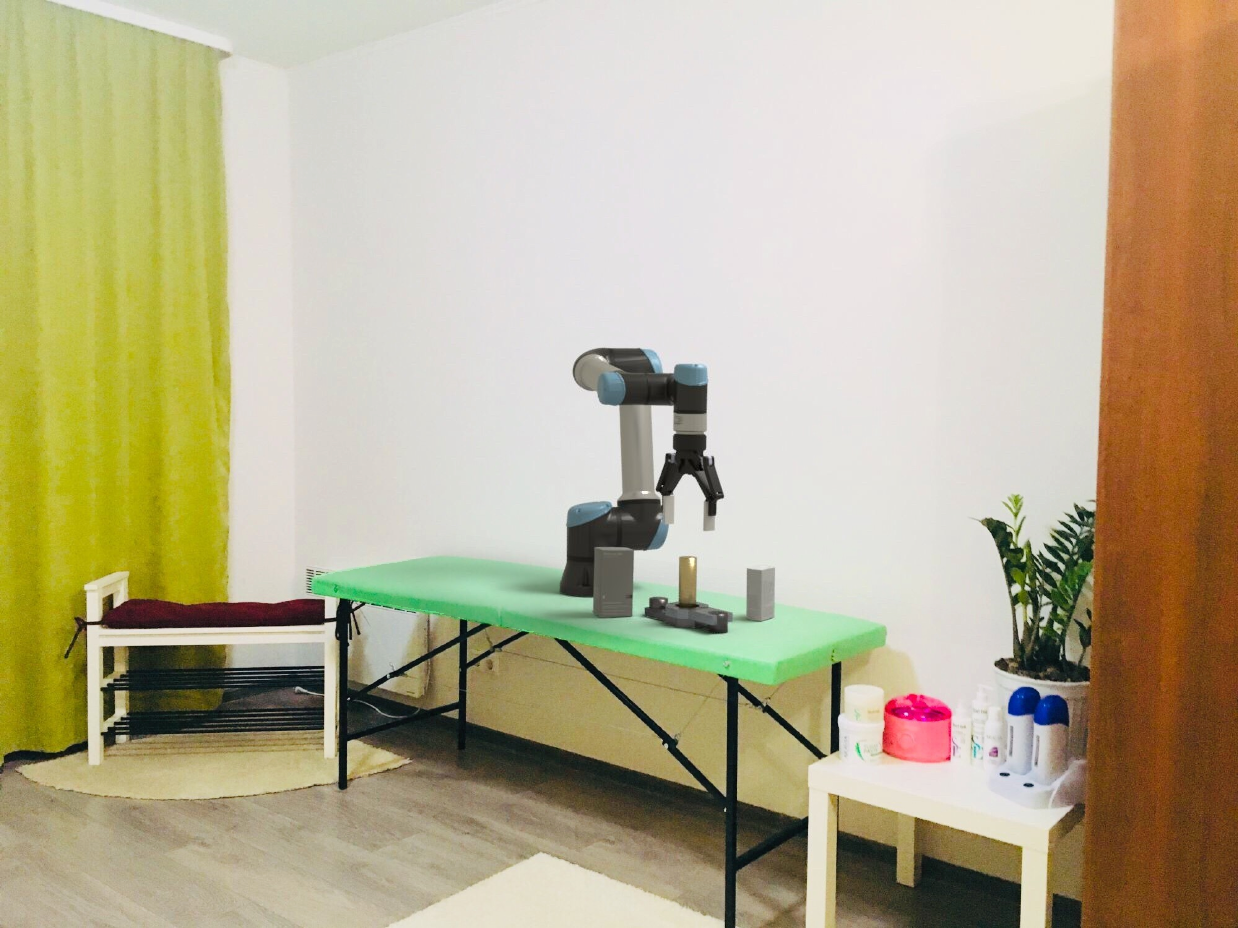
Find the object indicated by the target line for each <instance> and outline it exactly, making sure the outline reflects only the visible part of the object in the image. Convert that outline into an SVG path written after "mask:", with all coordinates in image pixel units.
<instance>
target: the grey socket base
mask: <svg viewBox="0 0 1238 928" xmlns="http://www.w3.org/2000/svg"><path fill="white" fill-rule="evenodd" d="M648 600H649V602H648V606H645V607H644V617H648V618H651V619H655V620H658V621H661V622H665V625H667V626H670V627H674V628H686V629H690V628H691V629H696V628H702V627H703V628H704V627H707V632H708V633H711V634H719V635H720V634H726V633H728V631H729V630H728V629H729V623H733V615H734V614H733V612H731V611H728V610H724V609H719V608H715V607H712V606H710V605H709V604H708V603H703V602H699V601H696V608H680V607H679V600H678V601H673V602H669V598H668V597H665V596H651V597H649V598H648Z"/></svg>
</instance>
